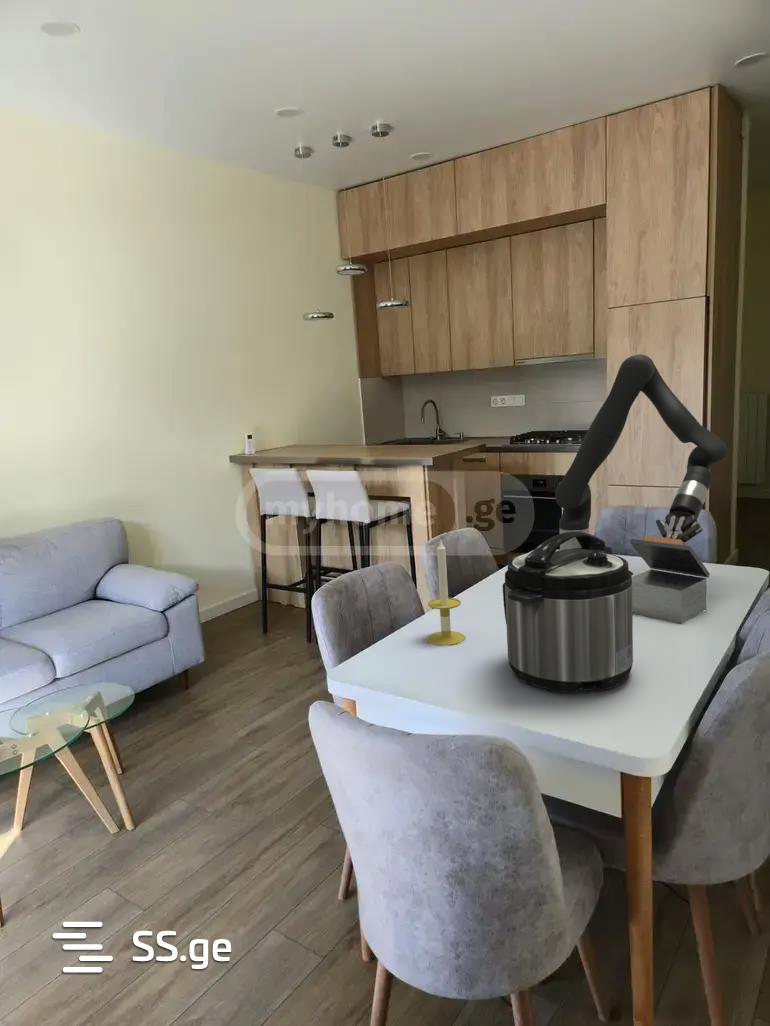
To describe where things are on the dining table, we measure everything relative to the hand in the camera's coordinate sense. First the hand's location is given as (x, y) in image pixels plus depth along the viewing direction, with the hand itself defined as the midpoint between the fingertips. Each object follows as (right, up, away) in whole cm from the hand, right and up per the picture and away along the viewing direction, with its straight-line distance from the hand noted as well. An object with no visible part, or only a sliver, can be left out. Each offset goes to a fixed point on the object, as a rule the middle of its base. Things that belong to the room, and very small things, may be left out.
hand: (667, 552), depth 183 cm
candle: (-61, -23, -7) cm, 65 cm away
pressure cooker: (-36, -25, -31) cm, 54 cm away
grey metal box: (0, -16, +2) cm, 16 cm away
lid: (+1, -2, +1) cm, 2 cm away
